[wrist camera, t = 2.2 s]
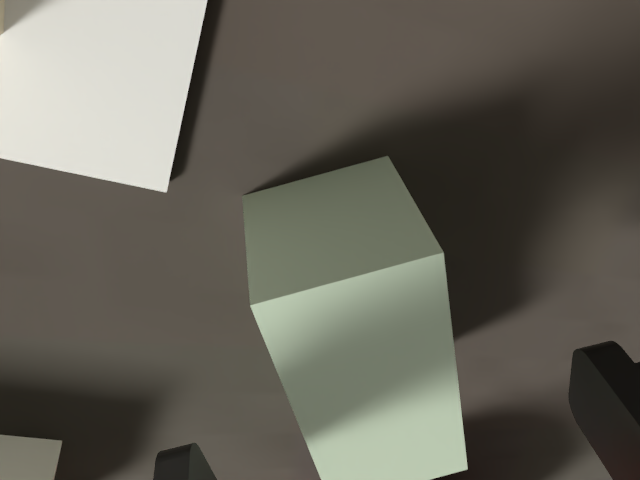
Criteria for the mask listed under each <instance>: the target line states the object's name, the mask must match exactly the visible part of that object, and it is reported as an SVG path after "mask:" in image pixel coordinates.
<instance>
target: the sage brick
mask: <svg viewBox="0 0 640 480" xmlns="http://www.w3.org/2000/svg"><path fill="white" fill-rule="evenodd" d="M242 199H243V213H244V227H245V241H246V255H247V269H248V283H249V298H250V306H251V309H252V311H253V314H254V316H255V319H256V321H257V324H258V326H259V329H260V331H261V333H262V336H263V338H264V341H265V343H266V346H267V348H268V351H269V353H270V355H271V358H272V360H273V363H274V365H275V368H276V370H277V373H278V375H279V378H280V380H281V382H282V385H283V387H284V390H285V392H286V395H287V397H288V400H289V402H290V404H291V407H292V409H293V412H294V414H295V417H296V419H297V422H298V424H299V427H300V429H301V431H302V434H303V436H304V439H305V441H306V444H307V446H308V449H309V451H310V453H311V456H312V458H313V461H314V463H315V466H316V468H317V471H318V473H319V476H320V478H321V480H431V479H434V478H438V477H442V476H445V475H449V474H453V473H456V472H460V471H464V470H467V469H468V466H467V457H466V448H465V439H464V430H463V422H462V413H461V404H460V395H459V386H458V377H457V368H456V359H455V350H454V341H453V332H452V323H451V314H450V305H449V296H448V287H447V279H446V270H445V261H444V252H443V251H442V249H441V247H440V245H439V244H438V242H437V240H436V238H435V237H434V235H433V233H432V231H431V230H430V228H429V226H428V224H427V223H426V221H425V219H424V217H423V216H422V214H421V212H420V211H419V209H418V207H417V205H416V204H415V202H414V200H413V198H412V197H411V195H410V193H409V191H408V190H407V188H406V186H405V184H404V183H403V181H402V179H401V177H400V176H399V174H398V172H397V171H396V169H395V167H394V165H393V164H392V162H391V160H390V158H389V157H388V156H385V157H382V158H378V159H374V160H371V161H367V162H363V163H360V164H356V165H353V166H349V167H345V168H342V169H338V170H334V171H331V172H327V173H323V174H320V175H316V176H313V177H309V178H305V179H302V180H298V181H294V182H291V183H287V184H283V185H280V186H276V187H273V188H269V189H265V190H262V191H258V192H254V193H251V194H247V195H243V196H242Z"/></svg>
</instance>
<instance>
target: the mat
mask: <svg viewBox="0 0 640 480" xmlns="http://www.w3.org/2000/svg"><path fill="white" fill-rule="evenodd" d="M206 5H207V0H5V8H4V33H3V34H1V35H0V158H3V159H7V160H12V161H17V162H22V163H27V164H32V165H36V166H41V167H46V168H51V169H56V170H60V171H65V172H70V173H75V174H80V175H85V176H89V177H94V178H99V179H104V180H109V181H114V182H118V183H123V184H128V185H133V186H138V187H143V188H147V189H152V190H157V191H162V192H167V188H168V183H169V178H170V174H171V169H172V164H173V160H174V155H175V150H176V146H177V141H178V136H179V132H180V127H181V122H182V117H183V113H184V108H185V103H186V99H187V94H188V89H189V85H190V80H191V75H192V70H193V66H194V61H195V56H196V52H197V47H198V42H199V38H200V33H201V28H202V24H203V19H204V14H205V9H206Z"/></svg>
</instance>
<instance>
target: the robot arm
mask: <svg viewBox="0 0 640 480" xmlns="http://www.w3.org/2000/svg"><path fill="white" fill-rule="evenodd" d="M569 403H570V407H571V410H572V413H573V415H574V418H575V420H576V422H577V424H578V425H579V427H580V428H581V430H582V432H583V433H584V435H585V436H586V438H587V439H588V441H589V443H590V444H591V446H592V447H593V449H594V450H595V452H596V454H597V455H598V457H599V458H600V460H601V461H602V463H603V465H604V466H605V468H606V469H607V471H608V472H609V474H610V476H611V477H612V479H613V480H640V362H638V363H634V362H633V361H632V359H631V358H630V357H629V356H628V355H627V353H626V352H625V351H624V350H623V349H622V348H621V346H620V345H618V344H617V343H616V342H614V341H608V342H604V343H600V344H596V345H592V346H588V347H584V348H579V349H576V350H575V351H574V352H573V358H572V367H571V376H570V386H569ZM153 480H217V479H216V477H215V475H214V474H213V472H212V470H211V468H210V466H209V464H208V463H207V461H206V459H205V457H204V455H203V453H202V452H201V450H200V448H199V446H198V445H197V444H196V443H192V444H188V445H184V446H180V447H176V448H172V449H168V450H164V451H160V452H159V453H158V455H157V457H156V462H155V470H154V478H153Z"/></svg>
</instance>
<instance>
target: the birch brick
mask: <svg viewBox="0 0 640 480" xmlns="http://www.w3.org/2000/svg"><path fill="white" fill-rule="evenodd" d="M4 8H5V0H0V35H1V34H3V33H4Z"/></svg>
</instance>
